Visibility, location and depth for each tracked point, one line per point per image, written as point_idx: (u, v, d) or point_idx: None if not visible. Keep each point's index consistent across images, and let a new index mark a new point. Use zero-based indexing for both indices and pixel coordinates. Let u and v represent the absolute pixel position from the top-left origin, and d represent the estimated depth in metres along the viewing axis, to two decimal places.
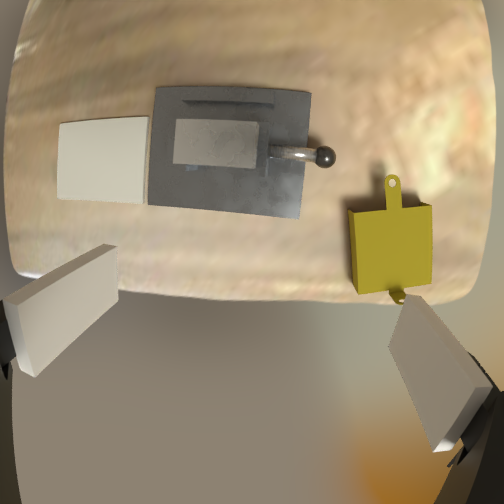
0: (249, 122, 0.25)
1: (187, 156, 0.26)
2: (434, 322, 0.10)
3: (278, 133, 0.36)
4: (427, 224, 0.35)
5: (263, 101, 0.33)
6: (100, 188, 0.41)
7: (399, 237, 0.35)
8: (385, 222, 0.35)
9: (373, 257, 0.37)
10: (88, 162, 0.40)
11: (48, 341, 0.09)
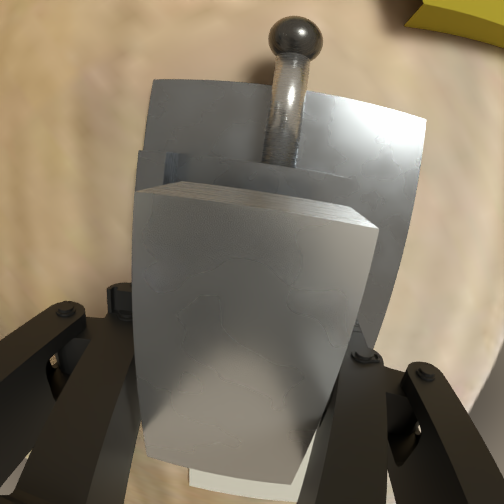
0: (138, 226, 0.05)
1: (277, 456, 0.06)
2: None
3: (239, 144, 0.16)
4: None
5: (160, 174, 0.15)
6: None
7: None
8: None
9: None
10: None
11: None
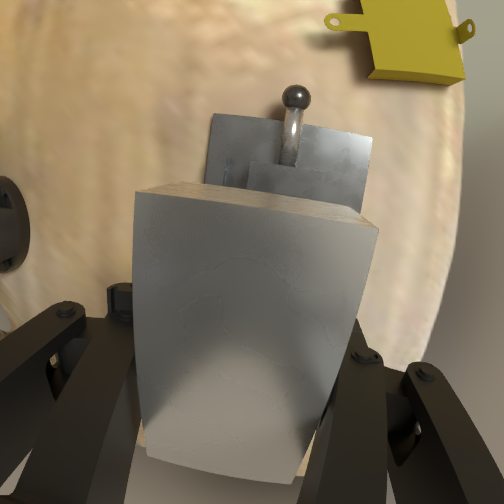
0: (138, 226, 0.05)
1: (277, 455, 0.06)
2: None
3: (264, 154, 0.30)
4: None
5: (222, 169, 0.29)
6: None
7: (398, 21, 0.22)
8: (383, 34, 0.23)
9: (424, 54, 0.22)
10: None
11: None
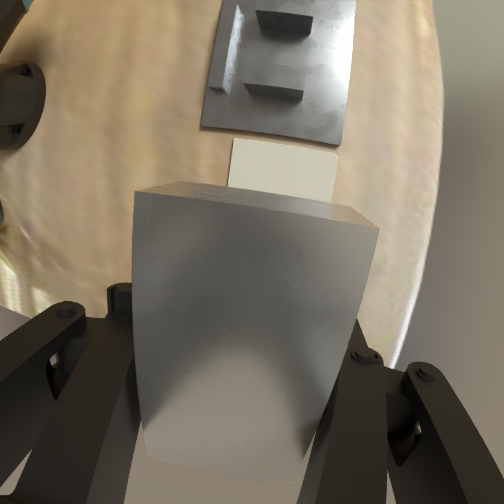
0: (138, 226, 0.05)
1: (277, 456, 0.06)
2: None
3: None
4: None
5: (234, 11, 0.28)
6: None
7: None
8: None
9: None
10: None
11: None
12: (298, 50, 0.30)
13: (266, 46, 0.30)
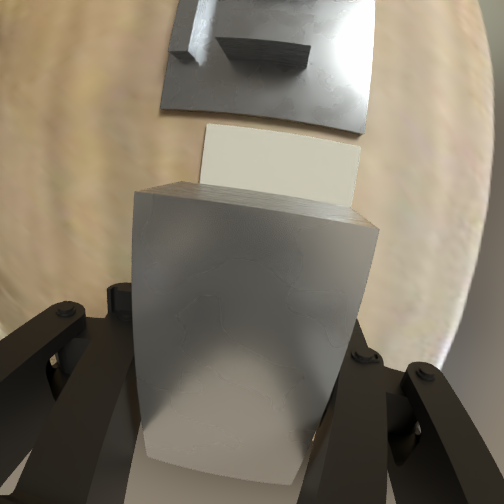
0: (137, 226, 0.05)
1: (277, 456, 0.06)
2: None
3: None
4: None
5: None
6: None
7: None
8: None
9: None
10: None
11: None
12: (299, 1, 0.19)
13: None
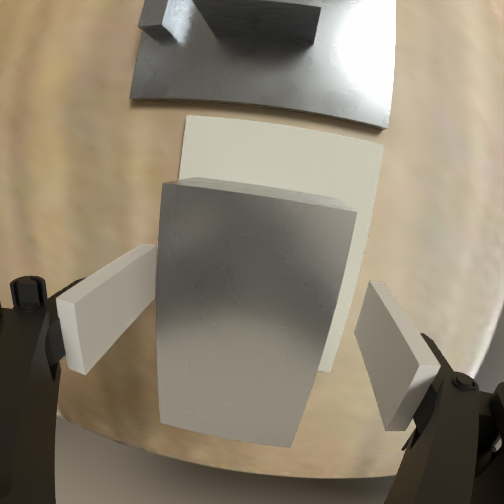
0: (164, 211, 0.06)
1: (277, 416, 0.08)
2: (391, 305, 0.11)
3: None
4: None
5: None
6: None
7: None
8: None
9: None
10: None
11: (98, 339, 0.10)
12: None
13: None
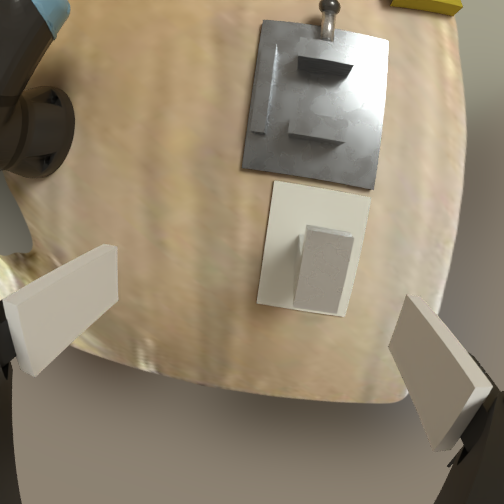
0: (307, 236, 0.26)
1: (333, 299, 0.27)
2: (434, 322, 0.10)
3: None
4: None
5: (273, 52, 0.31)
6: None
7: None
8: None
9: None
10: None
11: (48, 341, 0.09)
12: (335, 94, 0.33)
13: (305, 89, 0.33)
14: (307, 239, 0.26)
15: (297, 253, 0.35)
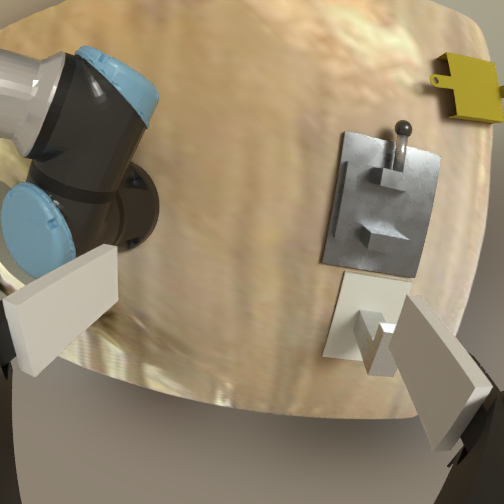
0: (383, 335, 0.36)
1: (392, 368, 0.38)
2: (434, 322, 0.10)
3: (378, 162, 0.42)
4: (459, 58, 0.33)
5: (356, 171, 0.41)
6: (390, 319, 0.49)
7: (469, 82, 0.34)
8: (461, 91, 0.35)
9: (482, 105, 0.35)
10: None
11: (48, 341, 0.09)
12: (397, 206, 0.43)
13: (375, 201, 0.44)
14: (383, 337, 0.36)
15: (361, 328, 0.46)
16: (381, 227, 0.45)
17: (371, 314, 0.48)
